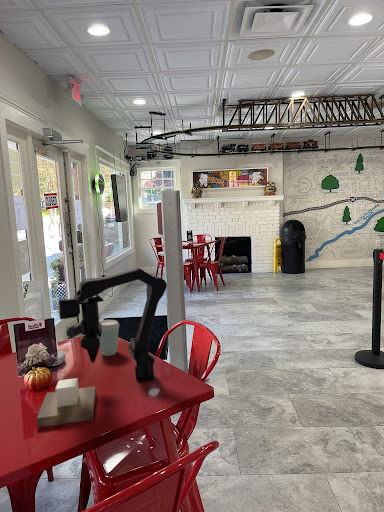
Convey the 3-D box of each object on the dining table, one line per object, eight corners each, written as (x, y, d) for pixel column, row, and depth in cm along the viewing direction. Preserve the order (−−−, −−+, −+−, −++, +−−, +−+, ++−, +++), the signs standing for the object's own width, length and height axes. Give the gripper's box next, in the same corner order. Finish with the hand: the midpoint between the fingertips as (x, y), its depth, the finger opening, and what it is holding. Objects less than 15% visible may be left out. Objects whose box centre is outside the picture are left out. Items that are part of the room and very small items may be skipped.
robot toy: (25, 375, 146) (63, 368, 149) (23, 365, 146) (61, 358, 148) (33, 363, 159) (68, 357, 161) (31, 353, 158) (66, 347, 160)
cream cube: (79, 395, 120) (77, 378, 119) (77, 404, 114) (75, 386, 113) (60, 397, 118) (58, 380, 118) (57, 407, 113) (55, 389, 112)
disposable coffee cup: (113, 347, 171) (111, 316, 169) (125, 353, 163) (123, 321, 161) (93, 353, 164) (90, 322, 162) (105, 360, 156) (102, 326, 154)
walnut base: (95, 394, 126) (95, 386, 125) (92, 419, 110) (92, 410, 110) (47, 401, 123) (46, 392, 122) (37, 427, 107) (36, 418, 107)
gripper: (70, 310, 134) (73, 350, 136) (62, 325, 116) (66, 371, 118) (100, 307, 136) (103, 347, 138) (98, 321, 118) (101, 366, 120)
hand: (93, 357), depth 128 cm, fingers open, 9 cm apart
